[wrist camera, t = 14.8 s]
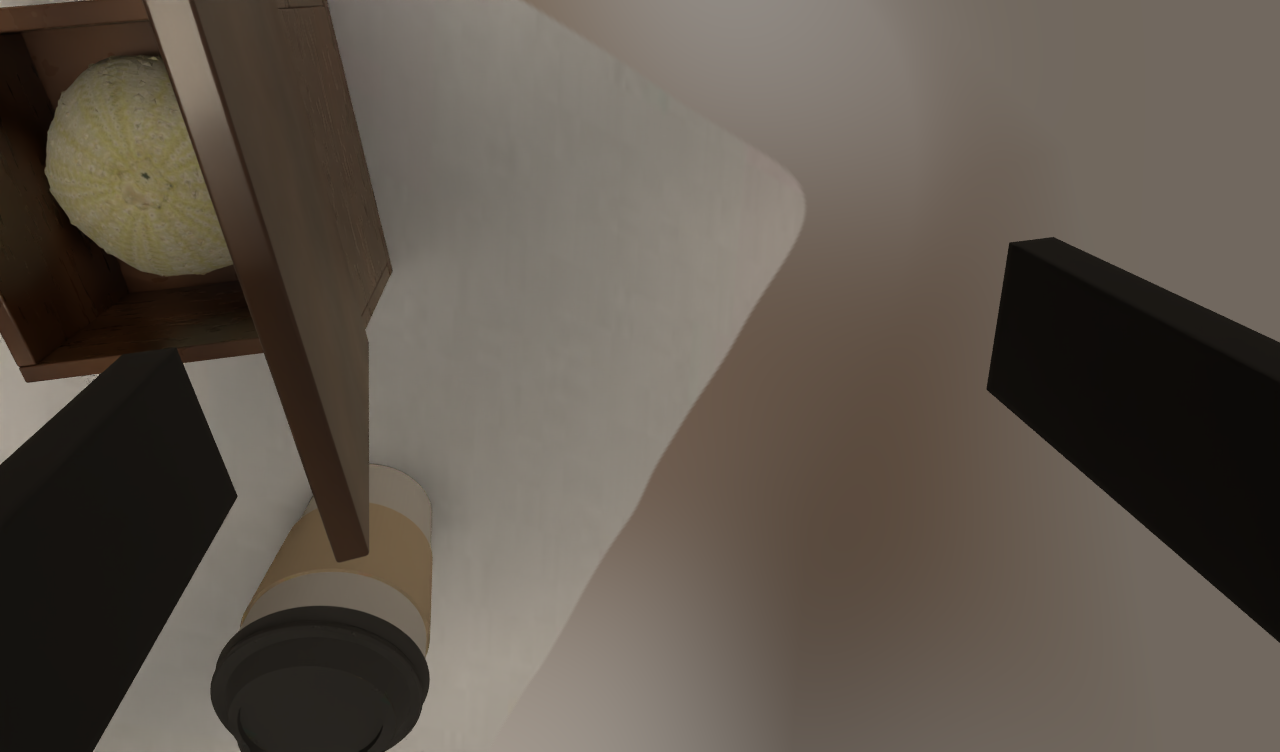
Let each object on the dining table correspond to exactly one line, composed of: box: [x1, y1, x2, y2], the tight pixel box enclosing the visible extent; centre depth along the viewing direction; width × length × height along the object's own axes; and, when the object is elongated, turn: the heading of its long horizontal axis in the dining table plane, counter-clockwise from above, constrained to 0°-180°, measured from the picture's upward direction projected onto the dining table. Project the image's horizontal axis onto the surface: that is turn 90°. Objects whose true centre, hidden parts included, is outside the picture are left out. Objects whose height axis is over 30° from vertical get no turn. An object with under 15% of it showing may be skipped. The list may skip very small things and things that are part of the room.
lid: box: [142, 0, 369, 563], centre depth 21 cm, size 14×13×1 cm
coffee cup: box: [210, 464, 432, 752], centre depth 38 cm, size 9×9×15 cm
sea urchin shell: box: [44, 54, 233, 277], centre depth 32 cm, size 9×8×8 cm
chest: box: [0, 0, 393, 383], centre depth 31 cm, size 13×13×9 cm
